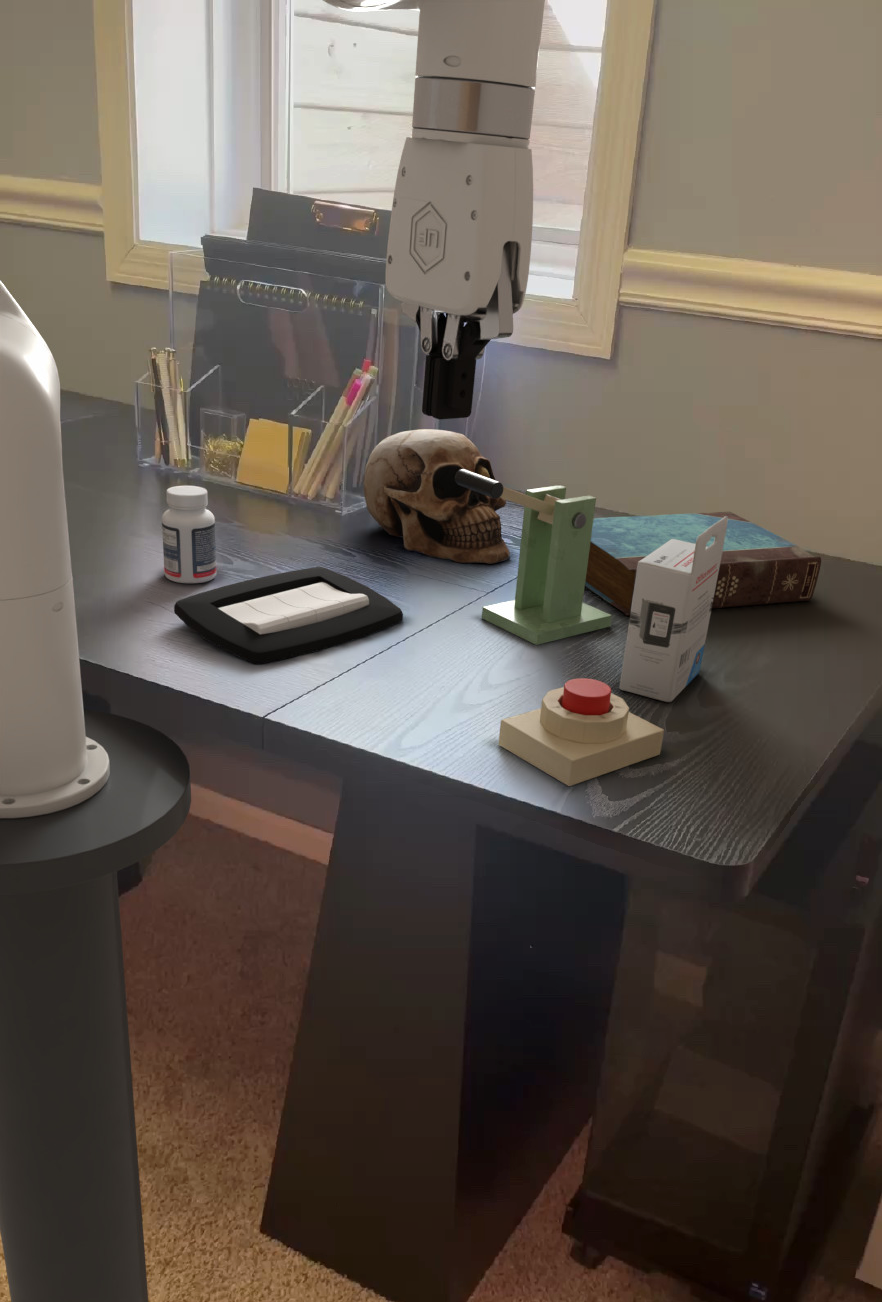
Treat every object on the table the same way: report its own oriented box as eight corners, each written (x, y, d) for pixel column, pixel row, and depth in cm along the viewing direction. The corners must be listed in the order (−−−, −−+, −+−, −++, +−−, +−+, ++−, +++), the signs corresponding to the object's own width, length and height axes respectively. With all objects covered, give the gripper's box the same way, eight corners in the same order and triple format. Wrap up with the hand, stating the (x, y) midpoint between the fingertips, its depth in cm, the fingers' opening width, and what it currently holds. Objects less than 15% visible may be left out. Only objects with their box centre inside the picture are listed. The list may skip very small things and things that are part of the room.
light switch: (255, 650, 102) (159, 590, 109) (253, 680, 103) (159, 619, 111) (418, 603, 115) (323, 552, 122) (414, 630, 116) (320, 578, 124)
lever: (487, 502, 103) (496, 475, 102) (450, 487, 106) (460, 461, 106) (581, 535, 112) (591, 510, 112) (545, 521, 116) (554, 497, 115)
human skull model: (508, 565, 132) (507, 441, 126) (354, 567, 134) (345, 444, 128) (514, 531, 146) (513, 418, 140) (374, 532, 148) (368, 421, 142)
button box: (568, 787, 88) (575, 738, 86) (497, 744, 93) (502, 698, 91) (660, 754, 94) (668, 708, 92) (588, 716, 99) (594, 672, 97)
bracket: (536, 645, 112) (551, 511, 106) (481, 618, 118) (492, 489, 112) (610, 626, 118) (628, 498, 112) (554, 601, 123) (569, 478, 117)
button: (584, 722, 90) (587, 700, 89) (552, 704, 92) (554, 683, 91) (618, 711, 92) (621, 690, 91) (585, 694, 94) (588, 674, 93)
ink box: (650, 660, 111) (676, 503, 104) (701, 673, 109) (731, 514, 102) (616, 690, 104) (641, 524, 97) (669, 704, 102) (699, 536, 95)
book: (628, 617, 121) (636, 570, 118) (551, 562, 135) (556, 519, 132) (812, 602, 129) (822, 557, 126) (721, 551, 143) (728, 510, 141)
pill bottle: (219, 569, 125) (217, 484, 121) (213, 585, 121) (211, 498, 117) (167, 566, 125) (164, 482, 121) (160, 583, 120) (156, 496, 116)
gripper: (355, 107, 78) (342, 397, 87) (504, 118, 68) (472, 444, 77) (445, 117, 82) (424, 392, 91) (597, 129, 72) (557, 436, 81)
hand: (446, 415), depth 84 cm, fingers closed
